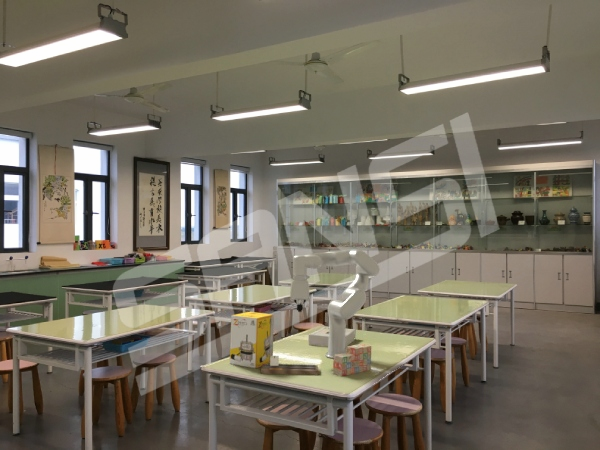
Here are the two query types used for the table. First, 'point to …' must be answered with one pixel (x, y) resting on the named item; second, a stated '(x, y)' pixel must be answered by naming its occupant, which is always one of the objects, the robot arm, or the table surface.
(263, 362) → the packaging box
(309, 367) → the fader console
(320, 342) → the box
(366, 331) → the table surface
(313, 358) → the table surface
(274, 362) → the fader knob
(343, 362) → the stack of blocks
